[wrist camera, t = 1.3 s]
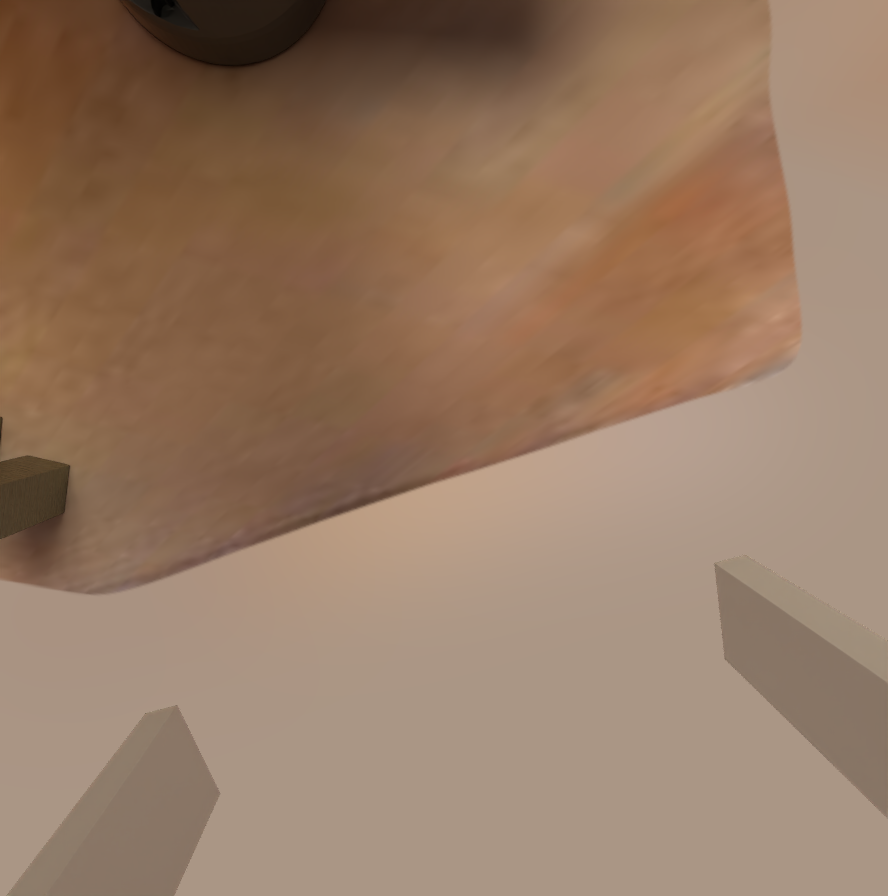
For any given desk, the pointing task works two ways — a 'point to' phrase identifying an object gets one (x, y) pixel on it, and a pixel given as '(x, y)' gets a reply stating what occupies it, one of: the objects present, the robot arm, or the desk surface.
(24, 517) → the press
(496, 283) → the desk surface
